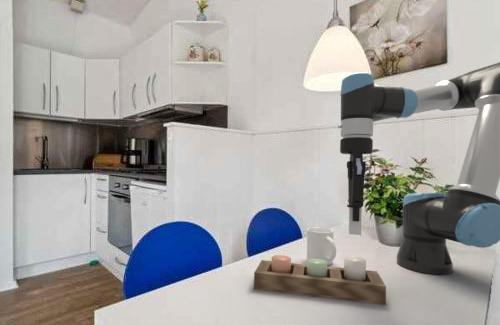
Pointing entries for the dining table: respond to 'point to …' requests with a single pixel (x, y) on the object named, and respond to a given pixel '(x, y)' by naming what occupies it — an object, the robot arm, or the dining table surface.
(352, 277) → the white short cylinder
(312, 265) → the pale green rounded piece
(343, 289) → the wooden compartment tray
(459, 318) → the dining table surface
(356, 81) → the robot arm
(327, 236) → the mug
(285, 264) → the peach rounded piece
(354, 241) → the dining table surface
